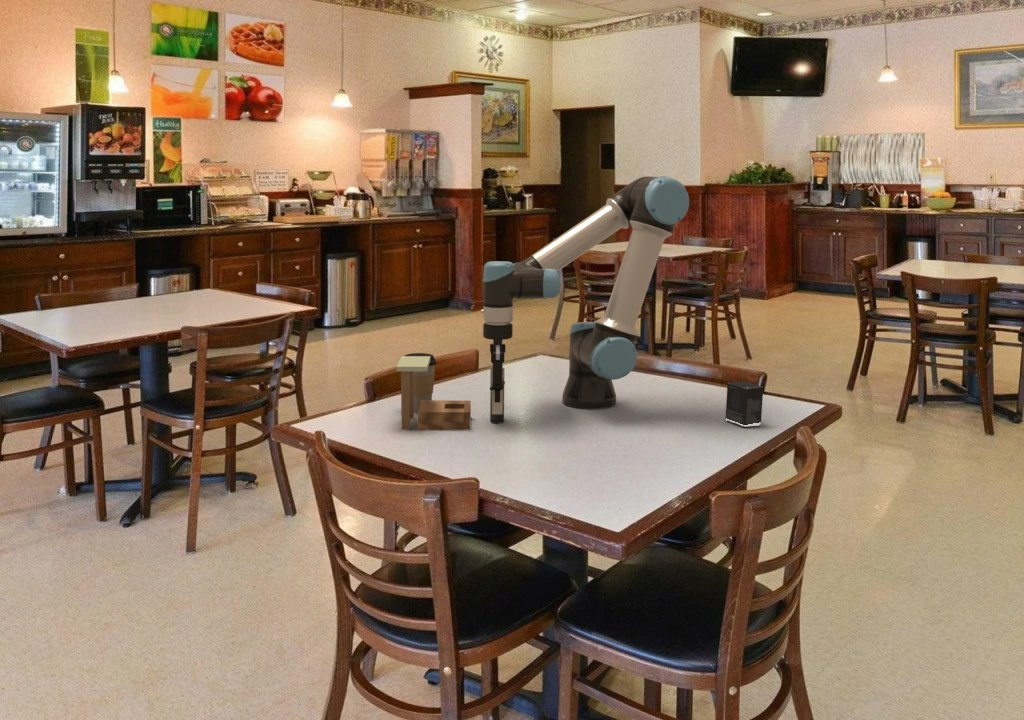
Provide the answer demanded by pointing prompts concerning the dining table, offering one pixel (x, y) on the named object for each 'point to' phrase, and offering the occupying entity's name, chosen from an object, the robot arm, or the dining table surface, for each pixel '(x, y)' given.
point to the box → (744, 402)
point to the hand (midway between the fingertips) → (497, 411)
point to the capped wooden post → (409, 384)
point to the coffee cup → (423, 382)
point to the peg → (493, 417)
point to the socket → (444, 415)
